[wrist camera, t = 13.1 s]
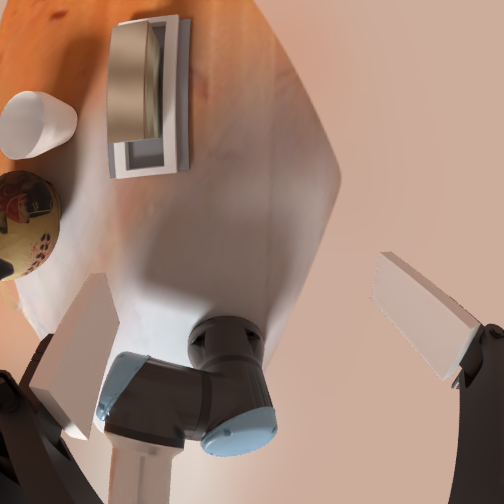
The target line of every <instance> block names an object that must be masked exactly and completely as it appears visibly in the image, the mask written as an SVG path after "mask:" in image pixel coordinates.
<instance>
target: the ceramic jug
mask: <svg viewBox="0 0 504 504" xmlns="http://www.w3.org/2000/svg"><path fill="white" fill-rule="evenodd" d="M60 219H61V210H60V200H59V198H58V196H57V193H56V191H55V189H54V188H53V186H52V184H51V183H49V182H48V181H43V180H42V179H41V178H40V177H39V176H37V175H35V174H33V173H29V172H25V171H11V172H8V173H5V174H3V175H1V176H0V281H7V280H13V279H17V278H20V277H22V276H25V275H27V274H29V273H30V272H32V271H34V270H35V269H37V268H38V267H39V266H40V265H41V264H43V263H44V262H45V261H46V260H47V258H48V257H49V256H50V254H51V253H52V251H53V249H54V247H55V244H56V242H57V239H58V236H59V231H60Z"/></svg>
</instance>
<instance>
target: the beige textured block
mask: <svg viewBox="0 0 504 504" xmlns="http://www.w3.org/2000/svg"><path fill="white" fill-rule="evenodd" d="M160 62H161V47H160V45H159V43H158V41H157V39H156V36H155V34H154V32H153V30H152V28H151V26H150V24H149V22H148V20H146V21H140V22H134V23H129V24H124V25H119V26H114V27H113V29H112V37H111V46H110V57H109V71H108V96H107V124H108V144H111V143H121V142H133V141H140V140H149V139H158V138H160Z"/></svg>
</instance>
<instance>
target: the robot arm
mask: <svg viewBox="0 0 504 504" xmlns="http://www.w3.org/2000/svg"><path fill="white" fill-rule="evenodd" d="M370 299H371V300H372V301H373V302H374V303H375V305H376V306H377V307H378V308H379V309H380V310H381V311H382V312H383V313H384V314H385V315H386V317H387V318H388V319H389V320H390V321H391V322H392V323H393V324H394V326H395V327H396V328H397V329H398V330H399V331H400V332H401V333H402V335H403V336H404V337H405V338H406V339H407V340H408V342H409V343H410V344H411V345H412V346H413V347H414V349H415V350H416V351H417V352H418V353H419V355H420V356H421V357H422V358H423V359H424V360H425V362H426V363H427V364H428V365H429V367H430V368H431V369H432V370H433V371H434V373H435V374H436V375H437V376H438V377H439V379H440V380H441V381H443V380H445V379H447V378H448V377H450V376H452V375H453V374H454V372H455V370H456V369H457V367H458V365H460V366H461V367H462V370H461V371H460V373H459V375H458V376H457V378H456V379H455V381H454V382H453V384H452V388H454V387H455V385H456V384H457V382H459V385H458V386H457V388H456V389H460V417H459V436H458V449H457V457H456V464H455V471H454V478H453V483H452V488H451V493H450V498H449V502H448V504H504V330H503V329H502V328H501V327H499V326H498V325H495V324H487V325H486V326H483V325H482V324H481V323H480V322H479V321H478V320H476V318H474V317H473V316H472V315H471V314H470V313H469V312H467V311H466V310H464V308H463V307H462V306H461V305H459V304H458V303H457V302H456V301H455V300H454V299H452V298H451V297H449V296H448V295H447V294H445V293H444V292H443V291H442V290H441V289H439V288H438V287H436V285H434V284H433V283H432V282H431V281H429V280H428V279H427V278H425V277H424V276H423V275H422V274H420V273H419V272H418V271H416V270H415V269H414V268H412V267H411V266H410V265H409V264H407V263H406V262H404V261H403V260H402V259H400V258H399V257H398V256H396V255H395V254H394V253H392V252H383V253H380V256H379V260H378V265H377V270H376V275H375V279H374V283H373V288H372V292H371V296H370ZM119 324H120V322H119V318H118V315H117V312H116V309H115V305H114V302H113V298H112V295H111V291H110V288H109V284H108V280H107V276H106V273H96V274H91V275H90V276H89V278H88V279H87V281H86V282H85V284H84V285H83V287H82V288H81V290H80V292H79V293H78V295H77V296H76V298H75V300H74V301H73V303H72V304H71V306H70V308H69V309H68V311H67V313H66V314H65V316H64V318H63V320H62V321H61V323H60V325H59V327H58V328H57V330H56V332H55V334H48V335H47V336H46V337H45V338H44V339H43V340H42V341H41V342H40V344H39V346H38V348H37V349H36V353H35V354H34V355H33V357H32V359H31V360H32V361H30V363H29V365H28V367H27V369H26V371H25V373H24V375H23V377H22V379H21V381H20V383H19V385H18V384H17V383H16V381H15V380H14V379H13V377H12V376H11V374H10V373H9V372H7V371H6V370H0V504H104V503H103V502H102V501H101V499H100V498H99V497H98V495H97V494H96V492H95V491H94V489H93V488H92V487H91V485H90V484H89V482H88V481H87V479H86V477H85V476H84V474H83V473H82V471H81V470H80V468H79V466H78V465H77V463H76V461H75V459H74V458H73V456H72V454H71V453H70V451H69V449H68V447H67V445H66V443H65V441H64V440H63V439H62V437H61V436H60V435H61V431H62V429H63V430H64V431H65V432H66V433H67V434H68V435H69V436H70V437H74V438H79V439H84V440H89V435H90V430H91V425H92V421H93V416H94V411H95V407H96V403H97V399H98V395H99V391H100V387H101V383H102V379H103V376H104V372H105V369H106V365H107V362H108V358H109V355H110V352H111V348H112V345H113V342H114V339H115V336H116V333H117V330H118V327H119ZM188 356H189V359H190V362H191V364H192V366H193V368H190V367H186V366H182V365H178V364H174V363H170V362H166V361H162V360H159V359H155V358H152V357H151V356H149V355H147V356H144V355H140V354H136V353H132V352H122V353H120V354H119V355H118V356H117V357H116V358H115V360H114V362H113V364H112V366H111V368H110V370H109V373H108V375H107V377H106V380H105V383H104V386H103V389H102V392H101V395H100V399H99V400H100V401H99V404H98V407H97V411H96V415H97V417H98V418H99V419H100V420H101V421H104V420H105V427H104V433H105V435H106V436H107V438H108V439H109V440H110V442H111V444H112V446H113V448H112V457H111V468H110V481H109V497H108V504H169V496H170V480H171V467H172V459H173V458H174V457H175V456H176V455H178V454H179V453H181V452H182V451H184V442H185V439H188V440H195V441H201V447H202V448H203V450H204V451H205V452H206V453H208V454H211V455H213V456H220V457H226V456H236V455H241V454H245V453H249V452H251V451H254V450H256V449H259V448H260V447H262V446H264V445H266V444H267V443H268V442H270V441H271V440H272V439H273V438H274V436H275V435H276V432H277V422H276V416H275V409H274V408H273V405H272V402H271V398H270V395H269V392H268V389H267V385H266V382H265V378H264V375H263V371H262V362H263V356H264V341H263V338H262V335H261V333H260V331H259V329H258V328H257V327H256V326H255V325H254V324H253V323H251V322H250V321H248V320H245V319H243V318H239V317H233V316H222V317H216V318H212V319H209V320H207V321H205V322H203V323H201V324H200V325H198V326H197V327H196V328H195V329H194V330H193V331H192V333H191V335H190V337H189V339H188Z"/></svg>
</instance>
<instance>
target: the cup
mask: <svg viewBox="0 0 504 504" xmlns="http://www.w3.org/2000/svg"><path fill="white" fill-rule="evenodd" d="M76 127H77V114H76V112H75V110H74V109H73V107H71V106H70V105H68V104H66V103H64V102H62V101H60V100H59V99H57V98H55V97H53V96H51V95H49V94H47V93H44V92H40V91H23V92H20V93H18V94H16V95H15V96H14V97H13V98H12V99H11V100H10V101H9V102H8V103H7V104H6V106H5V108H4V109H3V111H2V113H1V116H0V149H1V151H2V152H3V154H4V155H5V156H6V157H8V158H10V159H13V160H18V159H27V158H33V157H35V156H38V155H40V154H42V153H44V152H46V151H48V150H50V149H52V148H55V147H57V146H59V145H61V144H64V143H65V142H67V141H68V140H69V139H70V138H71V137H72V136H73V134H74V132H75V130H76Z"/></svg>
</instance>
